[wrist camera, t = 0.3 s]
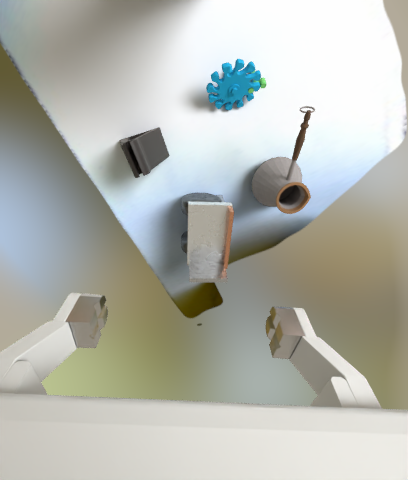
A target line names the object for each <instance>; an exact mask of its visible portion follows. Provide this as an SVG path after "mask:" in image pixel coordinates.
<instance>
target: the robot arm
mask: <svg viewBox="0 0 408 480" xmlns="http://www.w3.org/2000/svg"><path fill="white" fill-rule="evenodd" d="M105 302H106V298H105V296H103V295H94V294H83V293H71V294H69V295H68V297H67V298H66V300H65V301H64V303H63V305H62V306H61V308H60V309H59V311H58V313H57V314H56V316H55V317H54V319H53V321H48V322H46V323H45V324H43V325H42V326H40V327H39V328H37V329H36V330H34V331H33V332H31V333H29V334H28V335H26V336H25V337H23V338H22V339H20V340H19V341H17V342H15V343H14V344H12V345H11V346H9V347H8V348H6V349H5V350H3V351H2V352H0V480H408V410H393V409H392V410H391V409H382V408H381V406H380V404H379V402H378V400H377V399H376V397H375V395H374V393H373V391H372V390H371V388H370V386H369V384H368V382H367V381H366V378H365V377H364V376H363V375H362V374H360V373H359V372H358V371H357V370H356V369H355V368H354V367H352V366H351V365H350V364H349V363H348V362H347V361H346V360H344V359H343V358H342V357H341V356H340V355H339V354H338V353H337V352H335V351H334V350H333V349H332V348H331V347H330V346H329V345H327V344H326V343H325V342H324V341H323V340H322V339H321V338H319V337H316V335H315V333H314V331H313V328H312V326H311V324H310V322H309V319H308V317H307V315H306V313H305V311H304V309H303V308H290V307H272V308H271V310H270V314H271V315H270V316H269V317H268V318H267V320H266V334H267V337H268V338H269V339H270V340H271V342H270V344H269V346H270V350H271V353H272V357H273V358H283V359H290V361H291V362H292V364H293V365H294V366H295V367H296V369H297V370H298V371H299V372H300V374H301V375H302V376H303V377H304V379H305V380H306V381H307V382H308V384H309V385H310V386H311V387H312V389H313V390H314V391H315V392H316V394H317V395H318V396H317V397H316V398H315V400H314V401H313V402H312V404H311V406H297V405H272V404H249V403H248V404H247V403H224V402H202V401H177V400H155V399H131V398H107V397H83V396H59V395H47V393H46V391H45V389H44V387H43V385H42V383H41V382H42V380H44V379H45V378H46V377H47V376H48V375H49V374H50V373H51V372H52V371H53V370H54V369H55V368H56V367H58V366H59V365H60V364H61V363H62V362H63V361H64V360H65V359H66V358H67V357H68V356H69V355H70V354H71V353H72V352H74V351H75V350H76V348H96V346H97V344H98V341H99V339H100V336H101V333H100V330H101V329H102V328H103V327H104V326H105V324H106V321H107V315H108V309H107V306H106V305H104V304H105Z"/></svg>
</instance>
